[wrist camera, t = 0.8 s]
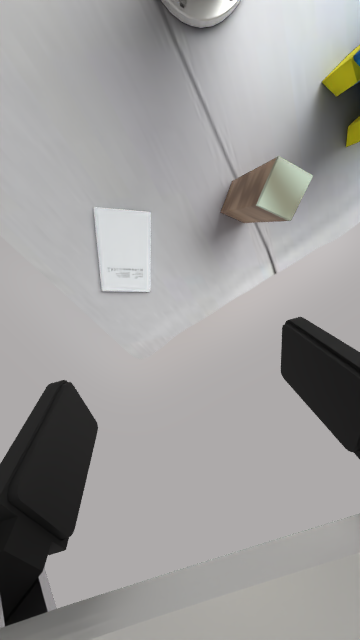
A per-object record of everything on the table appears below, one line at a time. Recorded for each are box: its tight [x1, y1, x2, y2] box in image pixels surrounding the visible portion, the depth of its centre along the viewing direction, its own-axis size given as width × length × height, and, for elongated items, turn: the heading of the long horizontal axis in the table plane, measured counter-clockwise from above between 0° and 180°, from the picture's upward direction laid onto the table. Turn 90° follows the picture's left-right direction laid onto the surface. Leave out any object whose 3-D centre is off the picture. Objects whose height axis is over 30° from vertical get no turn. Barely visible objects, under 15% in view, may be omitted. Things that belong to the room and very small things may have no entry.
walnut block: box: [221, 156, 313, 223], centre depth 27 cm, size 4×4×12 cm
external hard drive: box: [93, 207, 151, 292], centre depth 32 cm, size 2×8×12 cm
